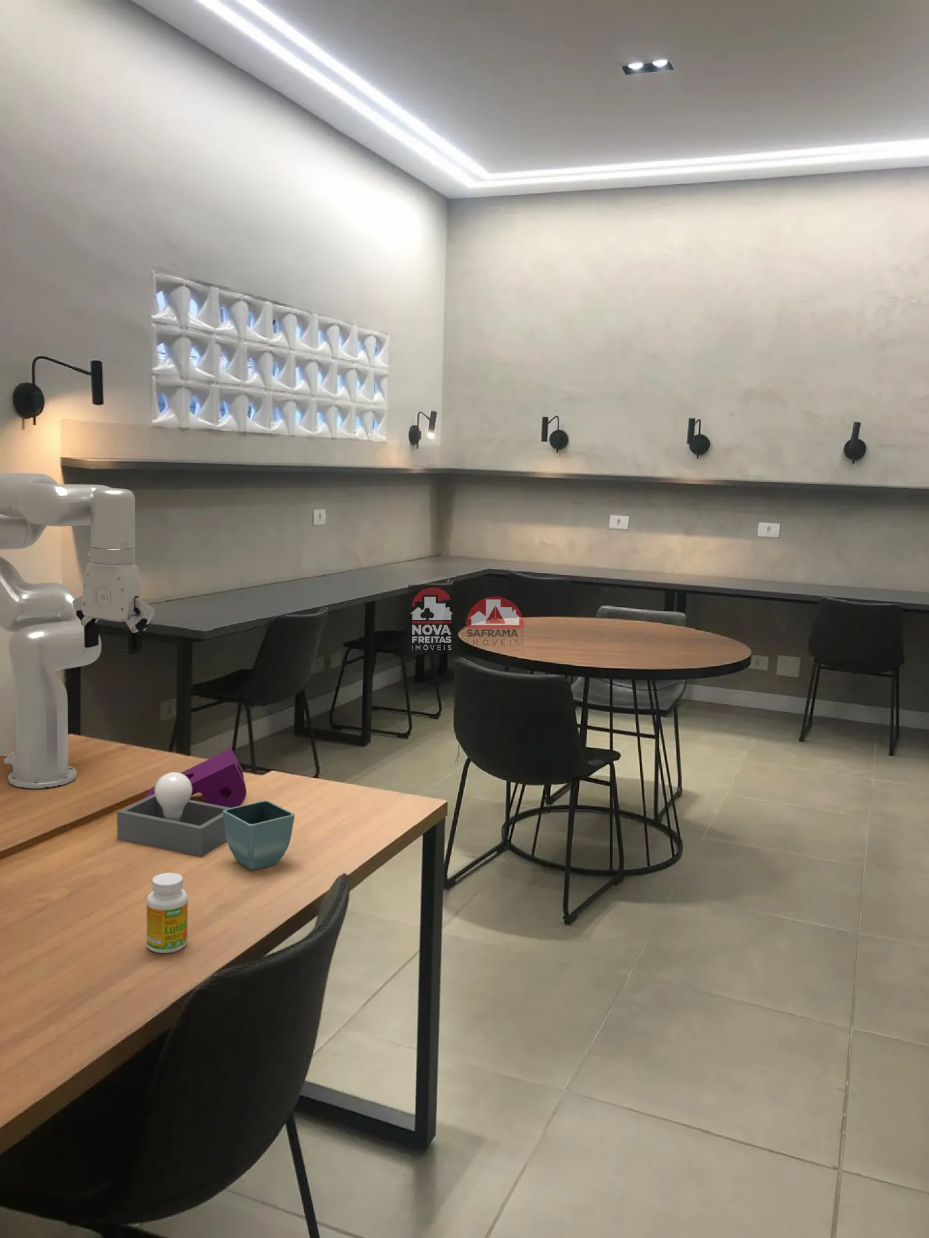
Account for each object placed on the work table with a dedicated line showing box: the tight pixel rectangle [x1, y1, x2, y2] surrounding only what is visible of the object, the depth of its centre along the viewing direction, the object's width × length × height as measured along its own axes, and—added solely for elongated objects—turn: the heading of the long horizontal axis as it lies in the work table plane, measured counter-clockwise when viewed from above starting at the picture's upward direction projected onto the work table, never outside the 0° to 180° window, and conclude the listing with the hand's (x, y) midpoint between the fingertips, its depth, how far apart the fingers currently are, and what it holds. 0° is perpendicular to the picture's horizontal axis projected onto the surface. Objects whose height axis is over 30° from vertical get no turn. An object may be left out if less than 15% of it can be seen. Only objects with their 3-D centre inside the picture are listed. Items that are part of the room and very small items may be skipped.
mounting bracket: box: [144, 748, 247, 808], centre depth 187 cm, size 9×8×18 cm
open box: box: [116, 793, 229, 858], centre depth 171 cm, size 17×10×5 cm, turn 71°
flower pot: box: [223, 800, 296, 871], centre depth 162 cm, size 9×9×9 cm
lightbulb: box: [154, 771, 193, 822], centre depth 171 cm, size 6×6×11 cm
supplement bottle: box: [146, 872, 189, 954], centre depth 134 cm, size 5×5×10 cm
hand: (113, 649), depth 179 cm, fingers open, 9 cm apart
